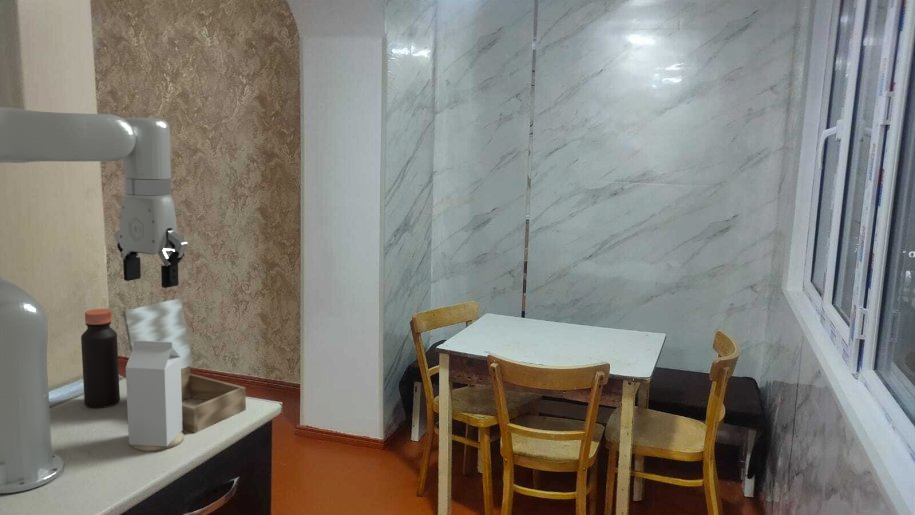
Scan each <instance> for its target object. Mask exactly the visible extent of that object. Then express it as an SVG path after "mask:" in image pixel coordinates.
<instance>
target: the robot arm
mask: <svg viewBox="0 0 915 515" xmlns="http://www.w3.org/2000/svg"><path fill="white" fill-rule="evenodd" d="M170 128H171V127H170V125H169V123H168V122H167V120H165V119H161V118H152V117H129V118H123V117H121V116H118V115H115V114H109V113H79V112H78V113H77V112H75V113H74V112H55V111H54V112H51V111H37V110H30V109H29V110H28V109H23V108H17V107H16V108H15V107H4V106H3V107H2V106H0V164H3V163H5V164H6V163H7V164H10V163H11V164H12V163H13V164H23V163H24V164H25V163H37V162H38V163H39V162H117V161H121V160H123V167H124V168H123V169H124V193H125V194H124V195H122V200H121V204H120V212H119V228H118V229H119V230H117V231H116V232H114V233H113V235H114V236H113V237H114V239H115V241H116V244H117V246H116V247H117V249H118V251H119V252H120V258H121V259H122V260H123V261H122V263H123V280H124V281H126V282H129V281H135V280H140V279H141V278H142V274H141V273H142V272H141V270H142V269H141V268H142V267H141V257H140V256H139V257H138V255H140V254H145V255H158V256H159V258H160V259H161V262H162V263H163V264H162V265H160V266H161V267H160V268H161V269H160V270H161V272H160V274H161V275H160V276H161V287H162V289H167V288H172V287H173V288H174V287H177V286H179V265H180V264H181V262H182V259H183V258H184V257H185V252H186V249H187V247H188V242H187V240H185V239H184V238H183V237H181V235H179V234H178V226H177V225H178V224H177V216H176V209H175V204H174V198H173V197H172V179H171V178H172V176H171V175H172V172H171V163H172V162H171V131H170ZM168 254H169V256H168ZM48 334H49V325H48V320H47V315H46V313H45V310H44V308H43V306H42V305H41V304H40V303H39V301H38V300H36V299H35V298H34V297H33V296H32V295H31V294H30V293H28V292H26V291H25V290H24V289H22V288H21V287H20V286H18V285H16V284H15V283H12V282H11V281H9V280H7V279H5V278H3V277H1V276H0V494H13V493H19V492H25V491H28V490H32V489H36V488H38V487H41V486H43V485H46V484H48V483H50V482H52V481H53V480H55V479H56V478H58V477H59V476H60V475H61V474H62V473H63V471H64V469H65V463H64V460H63V458H62V457H60V456H58V455H57V454H53V444H52V441H53V440H52V427H51V426H52V424H51V410H50V396H49V395H50V394H49V392H50V391H49V380H48V363H47V362H48V361H47V360H48V359H47V358H48V356H47V352H48V336H49V335H48Z"/></svg>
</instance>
